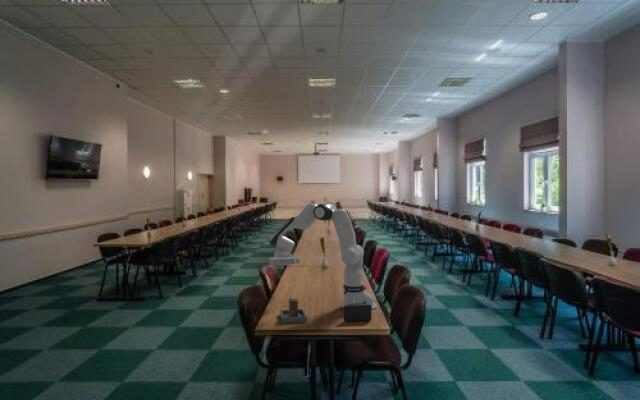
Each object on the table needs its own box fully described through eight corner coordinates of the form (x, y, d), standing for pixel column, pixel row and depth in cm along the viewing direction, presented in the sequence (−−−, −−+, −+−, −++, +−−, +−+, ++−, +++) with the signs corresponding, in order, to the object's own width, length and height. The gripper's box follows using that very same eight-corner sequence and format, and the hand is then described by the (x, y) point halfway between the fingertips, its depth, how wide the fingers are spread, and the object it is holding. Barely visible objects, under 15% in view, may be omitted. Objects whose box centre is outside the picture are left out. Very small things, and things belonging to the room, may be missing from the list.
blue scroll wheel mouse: (369, 318, 211) (369, 302, 211) (371, 321, 207) (372, 304, 207) (342, 319, 209) (342, 303, 209) (343, 322, 205) (344, 305, 204)
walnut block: (296, 315, 213) (296, 298, 213) (298, 317, 209) (298, 300, 208) (288, 315, 212) (288, 298, 211) (290, 318, 207) (290, 301, 207)
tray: (303, 313, 218) (303, 308, 218) (307, 322, 205) (307, 316, 205) (280, 315, 216) (280, 310, 216) (282, 323, 202) (282, 318, 202)
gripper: (267, 254, 241) (270, 258, 228) (297, 253, 247) (302, 257, 234) (267, 264, 241) (270, 268, 228) (297, 262, 247) (302, 267, 234)
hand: (286, 262), depth 231 cm, fingers open, 8 cm apart
